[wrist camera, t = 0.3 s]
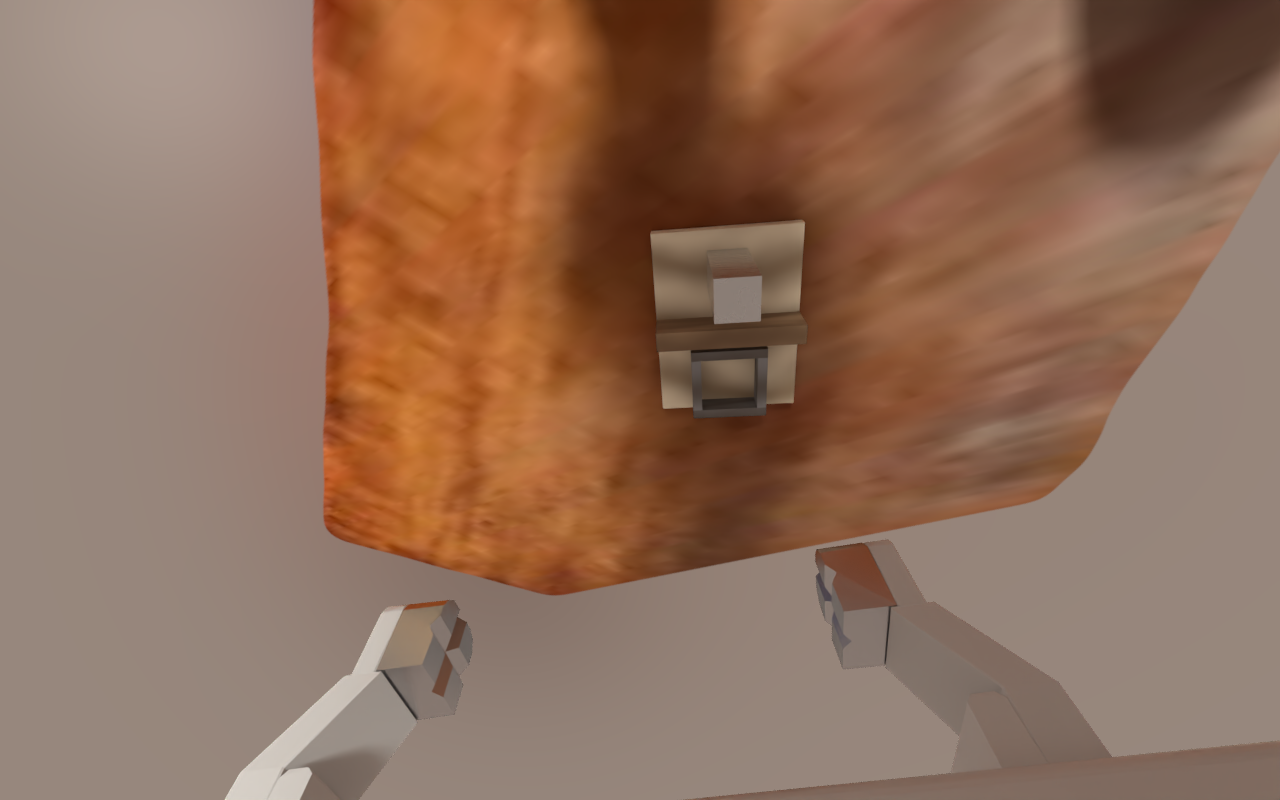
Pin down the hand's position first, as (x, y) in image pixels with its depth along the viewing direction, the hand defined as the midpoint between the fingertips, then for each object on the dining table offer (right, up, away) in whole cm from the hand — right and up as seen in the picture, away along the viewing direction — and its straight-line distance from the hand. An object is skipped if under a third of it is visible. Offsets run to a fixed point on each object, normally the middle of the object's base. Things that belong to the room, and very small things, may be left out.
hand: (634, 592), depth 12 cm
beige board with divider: (+10, +13, +46) cm, 49 cm away
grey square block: (+9, +18, +42) cm, 46 cm away
